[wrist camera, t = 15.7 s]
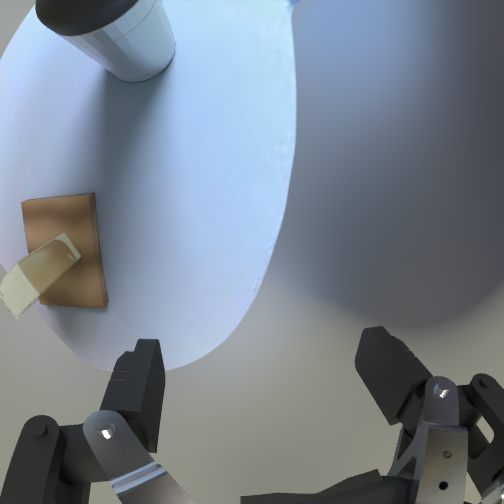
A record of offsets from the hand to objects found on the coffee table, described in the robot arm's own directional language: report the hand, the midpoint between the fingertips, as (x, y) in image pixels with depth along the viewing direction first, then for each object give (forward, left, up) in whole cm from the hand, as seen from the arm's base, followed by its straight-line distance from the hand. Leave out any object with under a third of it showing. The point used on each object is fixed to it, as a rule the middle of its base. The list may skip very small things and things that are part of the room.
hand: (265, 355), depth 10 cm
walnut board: (+5, -24, -28) cm, 37 cm away
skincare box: (+5, -24, -26) cm, 36 cm away
